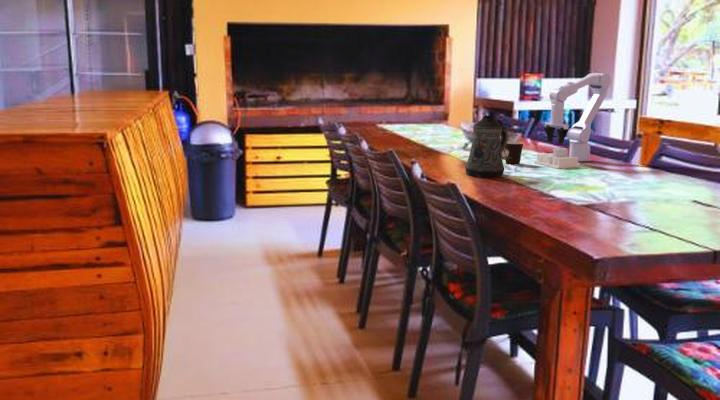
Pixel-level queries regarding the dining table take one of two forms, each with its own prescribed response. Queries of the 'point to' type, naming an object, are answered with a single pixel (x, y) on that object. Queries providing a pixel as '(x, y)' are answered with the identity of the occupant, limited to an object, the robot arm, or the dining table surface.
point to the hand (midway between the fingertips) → (555, 142)
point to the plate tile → (560, 152)
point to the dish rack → (557, 161)
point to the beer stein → (487, 149)
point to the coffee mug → (513, 152)
